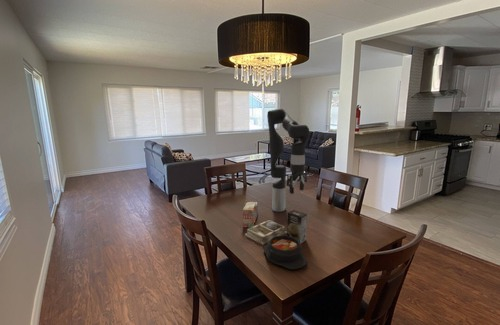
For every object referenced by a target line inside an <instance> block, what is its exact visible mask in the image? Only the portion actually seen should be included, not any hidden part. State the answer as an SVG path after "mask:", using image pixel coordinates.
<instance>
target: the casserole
mask: <svg viewBox="0 0 500 325" xmlns="http://www.w3.org/2000/svg"><path fill="white" fill-rule="evenodd" d="M301 244H302V243H301ZM301 244H300V242H299V241H298V240H297V239H295V238H293V237H290V236H287V235H285V234H284V235H282V236H276V237H273V238H272V239H271V240H270V242H268V243H267V244H265V245H263V250H264V253H265V256H266V258H267V260H268V261H269V262H271V263H273V264H275V265H279V266H282V267H283V268H286V269H288V270H298V269H301V268H303V267H305V266H306V265H308V260H307V259H306V257H305V255H304V254H303V252H302V250H303V246H302V245H301Z"/></svg>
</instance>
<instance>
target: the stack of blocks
mask: <svg viewBox="0 0 500 325" xmlns="http://www.w3.org/2000/svg"><path fill="white" fill-rule="evenodd" d="M258 208H259V207H258V202H257V201H249V202H246V203H245V206H244V207H243V209H242V227H243V228H246V227H248V228H247V229H249V228H251V227H254V226H255V224H254V223H256V220H257V217H258V214H259V212H258V211H259V209H258Z"/></svg>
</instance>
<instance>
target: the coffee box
mask: <svg viewBox="0 0 500 325" xmlns="http://www.w3.org/2000/svg"><path fill="white" fill-rule="evenodd" d="M286 222H287V224H286V225H287V226H286V227H287V229H286V231H287V233H286V236H290V237H293V238H295V239H297V240H298V241H299V242H300V244H302V243H304V242H305V241H307V239H306V238H307V226H308V224H307V222H308V213H305V212H302V211H300V210H295V209H292V210H290V211H288V212H287V221H286Z"/></svg>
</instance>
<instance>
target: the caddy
mask: <svg viewBox="0 0 500 325" xmlns="http://www.w3.org/2000/svg"><path fill="white" fill-rule="evenodd" d="M244 235H245V237H247V238H249V239H251V240H253V241H255V242H257V243H259V244H261V245H262V246H265V245H267V244H268V243H269V242H270V240H271V239H272V238H273V237H276V236H283V235H284V236H285V235H287V230H286V226H285V225H282V224H280V223H278V222H275V221H273V220H271V219H268V220H265V221H263V222H261V223H258V224H256V225H254V226H253V227H251V228H247V229H246V233H244Z"/></svg>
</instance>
